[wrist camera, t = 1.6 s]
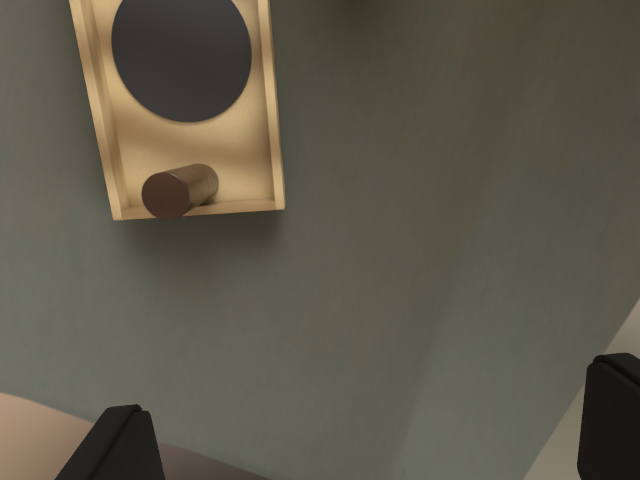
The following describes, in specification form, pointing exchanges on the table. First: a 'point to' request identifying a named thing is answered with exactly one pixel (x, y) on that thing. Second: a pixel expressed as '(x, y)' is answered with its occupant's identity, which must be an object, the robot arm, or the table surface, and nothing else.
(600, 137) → the table surface
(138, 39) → the tray
